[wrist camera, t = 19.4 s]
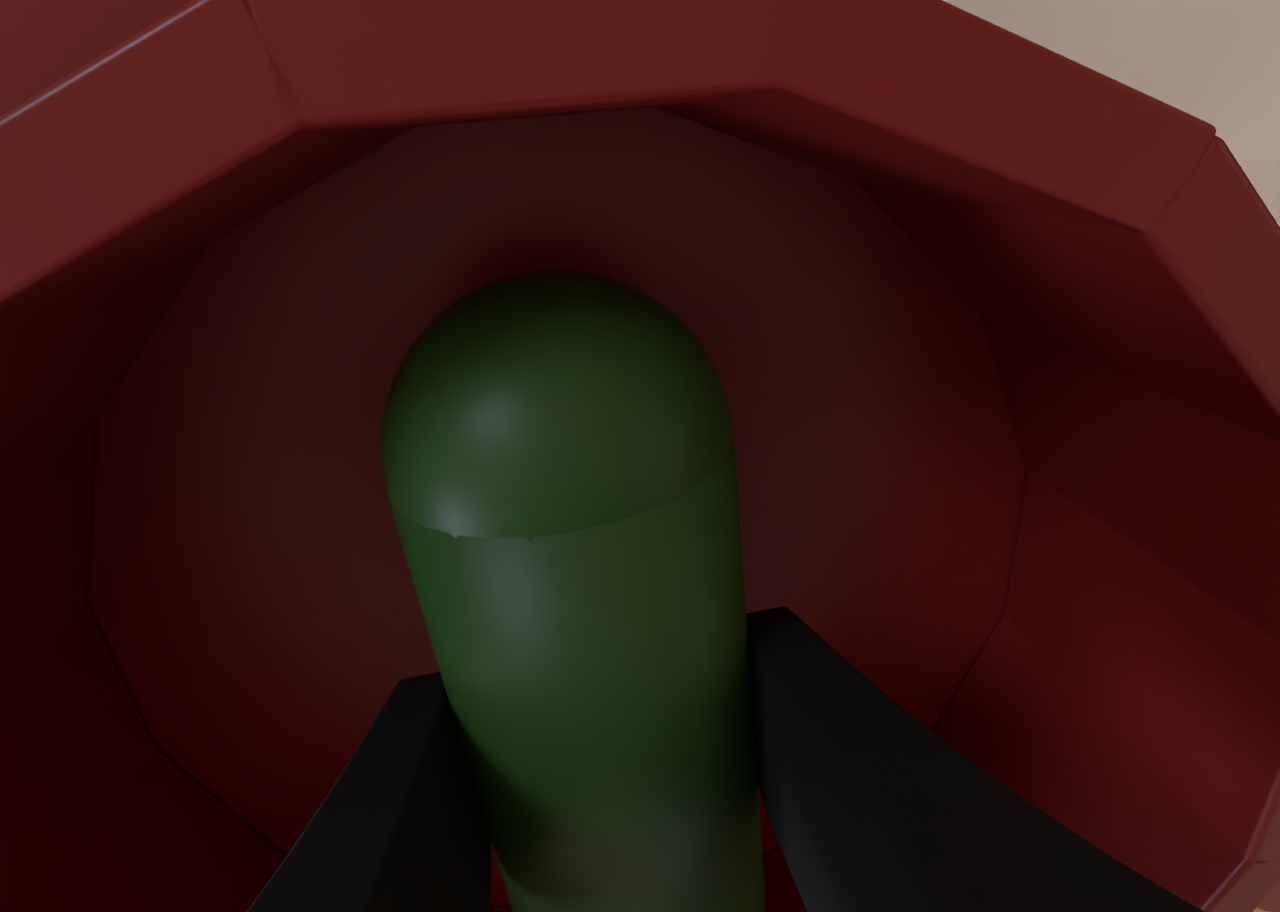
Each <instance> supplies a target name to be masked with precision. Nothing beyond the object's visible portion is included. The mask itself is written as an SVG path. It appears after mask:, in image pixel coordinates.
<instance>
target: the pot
mask: <svg viewBox="0 0 1280 912" xmlns="http://www.w3.org/2000/svg"><path fill="white" fill-rule="evenodd" d="M1215 133H1216V129H1215V127H1214V126H1213V125H1211V124H1209V123H1207V122H1205V121H1203V120H1201V119H1198V118H1196V117H1194V116H1192V115H1190V114H1188V113H1185V112H1183V111H1181V110H1179V109H1177V108H1175V107H1172V106H1170V105H1168V104H1166V103H1164V102H1162V101H1159V100H1157V99H1155V98H1153V97H1151V96H1149V95H1146V94H1144V93H1142V92H1140V91H1138V90H1136V89H1133V88H1131V87H1129V86H1127V85H1125V84H1122V83H1120V82H1118V81H1116V80H1114V79H1112V78H1109V77H1107V76H1105V75H1103V74H1101V73H1099V72H1096V71H1094V70H1092V69H1090V68H1088V67H1086V66H1083V65H1081V64H1079V63H1077V62H1075V61H1073V60H1070V59H1068V58H1066V57H1064V56H1062V55H1060V54H1057V53H1055V52H1053V51H1051V50H1049V49H1047V48H1044V47H1042V46H1040V45H1038V44H1036V43H1033V42H1031V41H1029V40H1027V39H1025V38H1023V37H1020V36H1018V35H1016V34H1014V33H1012V32H1010V31H1007V30H1005V29H1003V28H1001V27H999V26H997V25H994V24H992V23H990V22H988V21H986V20H984V19H981V18H979V17H977V16H975V15H973V14H971V13H968V12H966V11H964V10H962V9H960V8H957V7H955V6H953V5H951V4H949V3H947V2H944V1H942V0H0V912H247V910H248V909H249V908H250V906H251V905H252V904H253V902H254V901H255V899H256V898H257V897H258V895H259V894H260V892H261V891H262V890H263V888H264V887H265V886H266V884H267V883H268V881H269V880H270V879H271V877H272V876H273V874H274V873H275V872H276V870H277V869H278V868H279V866H280V865H281V863H282V862H283V860H284V859H285V857H286V856H287V855H288V853H289V852H290V850H291V849H292V847H293V846H294V844H295V843H296V841H297V840H298V838H299V837H300V835H301V834H302V832H303V831H304V829H305V828H306V826H307V825H308V823H309V822H310V820H311V818H312V817H313V815H314V814H315V812H316V811H317V809H318V808H319V806H320V805H321V803H322V802H323V800H324V799H325V797H326V796H327V794H328V793H329V791H330V790H331V788H332V787H333V785H334V784H335V782H336V780H337V779H338V777H339V776H340V774H341V773H342V771H343V769H344V768H345V766H346V765H347V763H348V761H349V760H350V758H351V757H352V755H353V753H354V752H355V750H356V749H357V747H358V745H359V744H360V742H361V741H362V739H363V737H364V736H365V734H366V732H367V731H368V729H369V728H370V726H371V724H372V723H373V721H374V719H375V718H376V716H377V714H378V713H379V711H380V710H381V708H382V706H383V705H384V703H385V701H386V700H387V698H388V697H389V695H390V693H391V692H392V690H393V689H394V687H395V686H396V685H397V683H398V682H399V681H400V680H401V679H404V678H410V677H415V676H420V675H425V674H431V673H436V672H440V670H439V667H438V663H437V660H436V657H435V653H434V650H433V647H432V643H431V640H430V637H429V633H428V630H427V627H426V623H425V620H424V617H423V614H422V610H421V607H420V604H419V600H418V597H417V594H416V590H415V587H414V584H413V580H412V577H411V574H410V571H409V567H408V564H407V561H406V557H405V554H404V551H403V547H402V544H401V541H400V537H399V534H398V531H397V527H396V524H395V521H394V518H393V514H392V511H391V508H390V504H389V501H388V498H387V493H386V488H385V483H384V477H383V472H382V466H381V461H380V444H381V423H382V418H383V413H384V409H385V405H386V401H387V398H388V394H389V390H390V387H391V383H392V379H393V377H394V376H395V374H396V372H397V370H398V368H399V366H400V364H401V362H402V360H403V359H404V357H405V355H406V353H407V351H408V349H409V348H410V347H411V345H412V344H413V343H414V342H415V340H416V339H417V338H418V337H419V336H420V335H421V333H422V332H423V331H424V330H425V329H426V328H427V326H428V325H429V324H430V323H431V322H432V320H433V319H434V318H435V317H436V316H437V315H439V314H440V313H441V312H443V311H444V310H445V309H447V308H448V307H449V306H451V305H452V304H453V303H455V302H456V301H457V300H459V299H460V298H461V297H463V296H464V295H466V294H467V293H469V292H471V291H473V290H475V289H478V288H480V287H482V286H485V285H487V284H489V283H492V282H494V281H496V280H499V279H501V278H504V277H507V276H510V275H514V274H518V273H523V272H529V271H537V270H550V269H556V270H568V271H578V272H588V273H594V274H598V275H601V276H604V277H607V278H610V279H613V280H615V281H618V282H621V283H624V284H627V285H630V286H633V287H635V288H636V289H638V290H639V291H641V292H643V293H644V294H646V295H648V296H649V297H651V298H653V299H654V300H656V301H658V302H659V303H661V304H662V305H663V306H665V307H666V308H667V309H668V310H670V311H671V312H672V313H673V314H674V315H675V316H676V317H677V318H678V319H679V320H680V321H681V322H682V323H683V324H684V325H685V326H686V327H687V328H688V329H690V330H691V331H692V332H693V334H694V335H695V337H696V338H697V340H698V341H699V343H700V344H701V346H702V347H703V349H704V350H705V351H706V353H707V354H708V356H709V357H710V359H711V361H712V363H713V365H714V368H715V370H716V372H717V375H718V377H719V380H720V382H721V384H722V387H723V389H724V392H725V394H726V397H727V399H728V404H729V410H730V415H731V421H732V426H733V434H734V447H735V461H736V475H737V490H738V504H739V519H740V533H741V547H742V562H743V576H744V591H745V605H746V613H750V612H756V611H761V610H766V609H771V608H777V607H782V606H786V607H787V608H789V609H790V610H791V611H793V612H794V613H795V614H796V615H797V616H798V617H799V618H801V619H802V620H803V621H804V622H805V623H806V624H807V625H808V626H809V627H810V628H811V629H813V630H814V631H815V632H816V633H817V634H818V635H819V636H820V637H821V638H822V639H824V640H825V641H826V642H827V643H828V644H829V645H830V646H831V647H832V648H834V649H835V650H836V651H837V652H838V653H839V654H840V655H841V656H843V657H844V658H845V659H846V660H847V661H848V662H849V663H851V664H852V665H853V666H854V667H855V668H856V669H857V670H859V671H860V672H861V673H862V674H863V675H864V676H865V677H867V678H868V679H869V680H870V681H871V682H873V683H874V684H875V685H876V686H877V687H878V688H880V689H881V690H882V691H883V692H884V693H886V694H887V695H888V696H889V697H891V698H892V699H893V700H894V701H896V702H897V703H898V704H899V705H900V706H902V707H903V708H904V709H905V710H907V711H908V712H909V713H910V714H912V715H913V716H914V717H915V718H917V719H918V720H919V721H920V722H922V723H923V724H924V725H925V726H926V727H928V728H929V729H930V730H931V731H933V732H934V733H935V734H937V735H938V736H939V737H940V738H942V739H943V740H944V741H946V742H947V743H948V744H950V745H951V746H952V747H954V748H955V749H956V750H957V751H959V752H960V753H961V754H963V755H964V756H965V757H967V758H968V759H970V760H971V761H972V762H974V763H975V764H976V765H978V766H979V767H980V768H982V769H983V770H985V771H986V772H987V773H989V774H990V775H991V776H993V777H994V778H996V779H997V780H998V781H1000V782H1001V783H1002V784H1004V785H1005V786H1006V787H1008V788H1009V789H1011V790H1012V791H1014V792H1015V793H1017V794H1018V795H1019V796H1021V797H1022V798H1024V799H1025V800H1027V801H1028V802H1029V803H1031V804H1032V805H1034V806H1035V807H1037V808H1038V809H1040V810H1041V811H1043V812H1044V813H1046V814H1047V815H1048V816H1050V817H1051V818H1053V819H1054V820H1056V821H1057V822H1059V823H1060V824H1062V825H1063V826H1065V827H1066V828H1068V829H1070V830H1071V831H1073V832H1074V833H1076V834H1077V835H1079V836H1080V837H1082V838H1084V839H1085V840H1087V841H1088V842H1090V843H1091V844H1093V845H1094V846H1096V847H1098V848H1099V849H1101V850H1102V851H1104V852H1105V853H1107V854H1108V855H1110V856H1112V857H1113V858H1115V859H1116V860H1118V861H1119V862H1121V863H1123V864H1124V865H1126V866H1128V867H1129V868H1131V869H1133V870H1134V871H1136V872H1138V873H1139V874H1141V875H1143V876H1144V877H1146V878H1148V879H1149V880H1151V881H1153V882H1154V883H1156V884H1158V885H1159V886H1161V887H1163V888H1164V889H1166V890H1168V891H1169V892H1171V893H1173V894H1174V895H1176V896H1178V897H1179V898H1181V899H1183V900H1185V901H1187V902H1188V903H1190V904H1192V905H1194V906H1196V907H1197V908H1199V909H1201V910H1203V911H1205V912H1252V911H1253V910H1254V909H1255V908H1256V907H1257V906H1258V904H1259V903H1260V902H1261V901H1262V900H1263V899H1264V898H1265V897H1266V896H1267V894H1268V893H1269V892H1270V891H1271V890H1272V889H1273V888H1274V887H1275V886H1276V884H1277V883H1278V882H1279V881H1280V227H1279V226H1278V224H1277V222H1276V221H1275V219H1274V218H1273V216H1272V215H1271V213H1270V212H1269V210H1268V209H1267V207H1266V205H1265V204H1264V202H1263V201H1262V199H1261V198H1260V196H1259V195H1258V193H1257V192H1256V190H1255V188H1254V187H1253V185H1252V184H1251V182H1250V181H1249V179H1248V178H1247V176H1246V175H1245V173H1244V171H1243V170H1242V168H1241V167H1240V165H1239V164H1238V162H1237V161H1236V159H1235V158H1234V156H1233V154H1232V153H1231V151H1230V150H1229V148H1228V147H1227V145H1226V144H1225V142H1224V141H1223V140H1222V139H1221V138H1219V137H1217V136H1215ZM758 792H759V807H760V821H761V836H762V850H763V865H764V879H765V893H766V912H807V910H806V908H805V905H804V903H803V900H802V898H801V896H800V893H799V891H798V889H797V886H796V884H795V881H794V879H793V877H792V874H791V872H790V869H789V867H788V865H787V862H786V860H785V857H784V855H783V853H782V850H781V848H780V845H779V843H778V841H777V838H776V836H775V833H774V831H773V828H772V826H771V824H770V821H769V817H768V814H767V811H766V808H765V805H764V801H763V798H762V795H761V792H760V788H759V785H758ZM489 912H512V908H511V905H510V902H509V898H508V895H507V892H506V888H505V885H504V882H503V879H502V875H501V872H500V869H499V865H498V862H497V859H496V855H495V852H494V849H493V845H492V842H491V889H490V901H489Z"/></svg>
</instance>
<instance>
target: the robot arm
mask: <svg viewBox="0 0 1280 912" xmlns="http://www.w3.org/2000/svg"><path fill="white" fill-rule="evenodd" d="M746 620H747V635H748V649H749V664H750V678H751V693H752V707H753V721H754V736H755V750H756V765H757V779H758V785H759V788H760V792H761V795H762V798H763V801H764V805H765V808H766V811H767V814H768V817H769V821H770V824H771V826H772V828H773V831H774V833H775V836H776V838H777V841H778V843H779V845H780V848H781V850H782V853H783V855H784V857H785V860H786V862H787V865H788V867H789V869H790V872H791V874H792V877H793V879H794V881H795V884H796V886H797V889H798V891H799V893H800V896H801V898H802V900H803V903H804V905H805V908H806V910H807V912H1205V911H1203V910H1201V909H1199V908H1197V907H1196V906H1194V905H1192V904H1190V903H1188V902H1187V901H1185V900H1183V899H1181V898H1179V897H1178V896H1176V895H1174V894H1173V893H1171V892H1169V891H1168V890H1166V889H1164V888H1163V887H1161V886H1159V885H1158V884H1156V883H1154V882H1153V881H1151V880H1149V879H1148V878H1146V877H1144V876H1143V875H1141V874H1139V873H1138V872H1136V871H1134V870H1133V869H1131V868H1129V867H1128V866H1126V865H1124V864H1123V863H1121V862H1119V861H1118V860H1116V859H1115V858H1113V857H1112V856H1110V855H1108V854H1107V853H1105V852H1104V851H1102V850H1101V849H1099V848H1098V847H1096V846H1094V845H1093V844H1091V843H1090V842H1088V841H1087V840H1085V839H1084V838H1082V837H1080V836H1079V835H1077V834H1076V833H1074V832H1073V831H1071V830H1070V829H1068V828H1066V827H1065V826H1063V825H1062V824H1060V823H1059V822H1057V821H1056V820H1054V819H1053V818H1051V817H1050V816H1048V815H1047V814H1046V813H1044V812H1043V811H1041V810H1040V809H1038V808H1037V807H1035V806H1034V805H1032V804H1031V803H1029V802H1028V801H1027V800H1025V799H1024V798H1022V797H1021V796H1019V795H1018V794H1017V793H1015V792H1014V791H1012V790H1011V789H1009V788H1008V787H1006V786H1005V785H1004V784H1002V783H1001V782H1000V781H998V780H997V779H996V778H994V777H993V776H991V775H990V774H989V773H987V772H986V771H985V770H983V769H982V768H980V767H979V766H978V765H976V764H975V763H974V762H972V761H971V760H970V759H968V758H967V757H965V756H964V755H963V754H961V753H960V752H959V751H957V750H956V749H955V748H954V747H952V746H951V745H950V744H948V743H947V742H946V741H944V740H943V739H942V738H940V737H939V736H938V735H937V734H935V733H934V732H933V731H931V730H930V729H929V728H928V727H926V726H925V725H924V724H923V723H922V722H920V721H919V720H918V719H917V718H915V717H914V716H913V715H912V714H910V713H909V712H908V711H907V710H905V709H904V708H903V707H902V706H900V705H899V704H898V703H897V702H896V701H894V700H893V699H892V698H891V697H889V696H888V695H887V694H886V693H884V692H883V691H882V690H881V689H880V688H878V687H877V686H876V685H875V684H874V683H873V682H871V681H870V680H869V679H868V678H867V677H865V676H864V675H863V674H862V673H861V672H860V671H859V670H857V669H856V668H855V667H854V666H853V665H852V664H851V663H849V662H848V661H847V660H846V659H845V658H844V657H843V656H841V655H840V654H839V653H838V652H837V651H836V650H835V649H834V648H832V647H831V646H830V645H829V644H828V643H827V642H826V641H825V640H824V639H822V638H821V637H820V636H819V635H818V634H817V633H816V632H815V631H814V630H813V629H811V628H810V627H809V626H808V625H807V624H806V623H805V622H804V621H803V620H802V619H801V618H799V617H798V616H797V615H796V614H795V613H794V612H793V611H791V610H790V609H789V608H787V607H786V606H782V607H777V608H771V609H766V610H761V611H756V612H750V613H746ZM490 889H491V839H490V835H489V832H488V829H487V825H486V822H485V819H484V815H483V812H482V809H481V806H480V802H479V799H478V796H477V792H476V789H475V786H474V782H473V779H472V776H471V772H470V769H469V766H468V763H467V759H466V756H465V753H464V749H463V746H462V743H461V739H460V736H459V733H458V729H457V726H456V723H455V719H454V716H453V713H452V710H451V706H450V703H449V700H448V696H447V693H446V690H445V686H444V683H443V680H442V676H441V673H440V672H436V673H431V674H425V675H420V676H415V677H410V678H404V679H401V680H400V681H399V682H398V683H397V685H396V686H395V687H394V689H393V690H392V692H391V693H390V695H389V697H388V698H387V700H386V701H385V703H384V705H383V706H382V708H381V710H380V711H379V713H378V714H377V716H376V718H375V719H374V721H373V723H372V724H371V726H370V728H369V729H368V731H367V732H366V734H365V736H364V737H363V739H362V741H361V742H360V744H359V745H358V747H357V749H356V750H355V752H354V753H353V755H352V757H351V758H350V760H349V761H348V763H347V765H346V766H345V768H344V769H343V771H342V773H341V774H340V776H339V777H338V779H337V780H336V782H335V784H334V785H333V787H332V788H331V790H330V791H329V793H328V794H327V796H326V797H325V799H324V800H323V802H322V803H321V805H320V806H319V808H318V809H317V811H316V812H315V814H314V815H313V817H312V818H311V820H310V822H309V823H308V825H307V826H306V828H305V829H304V831H303V832H302V834H301V835H300V837H299V838H298V840H297V841H296V843H295V844H294V846H293V847H292V849H291V850H290V852H289V853H288V855H287V856H286V857H285V859H284V860H283V862H282V863H281V865H280V866H279V868H278V869H277V870H276V872H275V873H274V874H273V876H272V877H271V879H270V880H269V881H268V883H267V884H266V886H265V887H264V888H263V890H262V891H261V892H260V894H259V895H258V897H257V898H256V899H255V901H254V902H253V904H252V905H251V906H250V908H249V909H248V910H247V912H489V901H490Z"/></svg>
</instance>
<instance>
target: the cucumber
mask: <svg viewBox="0 0 1280 912" xmlns="http://www.w3.org/2000/svg"><path fill="white" fill-rule="evenodd" d="M380 461H381V466H382V472H383V477H384V483H385V488H386V493H387V498H388V501H389V504H390V508H391V511H392V514H393V518H394V521H395V524H396V527H397V531H398V534H399V537H400V541H401V544H402V547H403V551H404V554H405V557H406V561H407V564H408V567H409V571H410V574H411V577H412V580H413V584H414V587H415V590H416V594H417V597H418V600H419V604H420V607H421V610H422V614H423V617H424V620H425V623H426V627H427V630H428V633H429V637H430V640H431V643H432V647H433V650H434V653H435V657H436V660H437V663H438V667H439V670H440V673H441V676H442V680H443V683H444V686H445V690H446V693H447V696H448V700H449V703H450V706H451V710H452V713H453V716H454V719H455V723H456V726H457V729H458V733H459V736H460V739H461V743H462V746H463V749H464V753H465V756H466V759H467V763H468V766H469V769H470V772H471V776H472V779H473V782H474V786H475V789H476V792H477V796H478V799H479V802H480V806H481V809H482V812H483V815H484V819H485V822H486V825H487V829H488V832H489V835H490V839H491V842H492V845H493V849H494V852H495V855H496V859H497V862H498V865H499V869H500V872H501V875H502V879H503V882H504V885H505V888H506V892H507V895H508V898H509V902H510V905H511V908H512V912H766V893H765V879H764V865H763V850H762V836H761V821H760V807H759V792H758V779H757V765H756V750H755V736H754V721H753V707H752V693H751V678H750V664H749V649H748V635H747V620H746V605H745V591H744V576H743V562H742V547H741V533H740V519H739V504H738V490H737V475H736V461H735V447H734V434H733V426H732V421H731V415H730V410H729V404H728V399H727V397H726V394H725V392H724V389H723V387H722V384H721V382H720V380H719V377H718V375H717V372H716V370H715V368H714V365H713V363H712V361H711V359H710V357H709V356H708V354H707V353H706V351H705V350H704V349H703V347H702V346H701V344H700V343H699V341H698V340H697V338H696V337H695V335H694V334H693V332H692V331H691V330H690V329H688V328H687V327H686V326H685V325H684V324H683V323H682V322H681V321H680V320H679V319H678V318H677V317H676V316H675V315H674V314H673V313H672V312H671V311H670V310H668V309H667V308H666V307H665V306H663V305H662V304H661V303H659V302H658V301H656V300H654V299H653V298H651V297H649V296H648V295H646V294H644V293H643V292H641V291H639V290H638V289H636V288H635V287H633V286H630V285H627V284H624V283H621V282H618V281H615V280H613V279H610V278H607V277H604V276H601V275H598V274H594V273H588V272H578V271H568V270H556V269H550V270H537V271H529V272H523V273H518V274H514V275H510V276H507V277H504V278H501V279H499V280H496V281H494V282H492V283H489V284H487V285H485V286H482V287H480V288H478V289H475V290H473V291H471V292H469V293H467V294H466V295H464V296H463V297H461V298H460V299H459V300H457V301H456V302H455V303H453V304H452V305H451V306H449V307H448V308H447V309H445V310H444V311H443V312H441V313H440V314H439V315H437V316H436V317H435V318H434V319H433V320H432V322H431V323H430V324H429V325H428V326H427V328H426V329H425V330H424V331H423V332H422V333H421V335H420V336H419V337H418V338H417V339H416V340H415V342H414V343H413V344H412V345H411V347H410V348H409V349H408V351H407V353H406V355H405V357H404V359H403V360H402V362H401V364H400V366H399V368H398V370H397V372H396V374H395V376H394V377H393V379H392V383H391V387H390V390H389V394H388V398H387V401H386V405H385V409H384V413H383V418H382V423H381V444H380Z"/></svg>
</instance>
